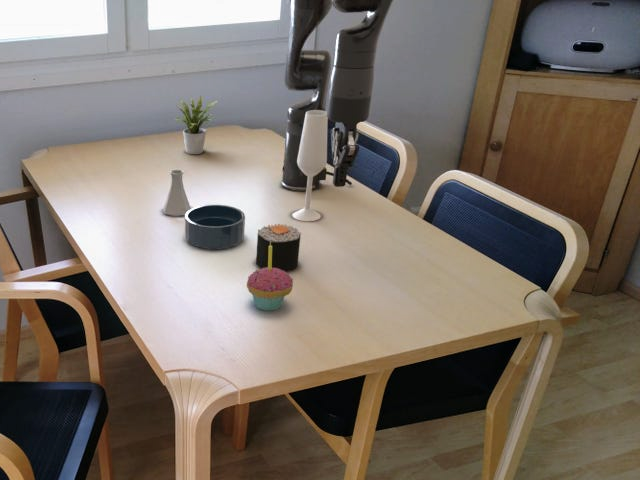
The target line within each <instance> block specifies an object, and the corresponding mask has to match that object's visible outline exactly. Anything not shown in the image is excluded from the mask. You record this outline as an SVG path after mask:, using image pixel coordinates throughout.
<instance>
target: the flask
mask: <svg viewBox="0 0 640 480" xmlns="http://www.w3.org/2000/svg"><path fill="white" fill-rule="evenodd" d="M169 173H170V175H171V179H170V180H171V181H170V186H169V190H168V193H167V197H166V200H165V202H164V205H163V208H162V211H163V214H165V215H168V216H174V217H177V216H185V214H186V213H187V212H188V211H189V210H191V209H192V207H191V204H190V202H189V199H188V196H187V193H186V191H185V186H184V182H183V175H184V170H183V169H171V170H170V171H169Z"/></svg>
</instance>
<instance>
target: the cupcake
mask: <svg viewBox="0 0 640 480" xmlns="http://www.w3.org/2000/svg"><path fill="white" fill-rule="evenodd" d="M293 287H294V278H292V277H291V275H290V274H289V273H288V272H285V271H283V270H280V269H278V268H272V246H271V241H270V246H269V252H268V267H265V268H262V269H261V268H260V267H259V269H256V270H255V271H253V272H252V273H250V275H249V276H248V277H247V282H246V288H247V291H248V292H249V293H250V294H251V295H252V298H253V301H254V306H255V307H256V308H257V309H259V310H263V311H269V312H271V311H276V310H278V309H280V308H281V305H282V303H283V301H284V299H285V297H286V296H288V295H289V294H291V293H292V291H293Z"/></svg>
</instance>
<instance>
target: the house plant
mask: <svg viewBox="0 0 640 480" xmlns="http://www.w3.org/2000/svg"><path fill="white" fill-rule="evenodd" d="M190 100H191V103H190V107H191V111H190V109H189V106H188V105H187V103H186V102H185V101H184V100H183V99H181V98H180V102H181V104H182V106H183V109H182V108H181V107H180V106H179V105H177V104H175V105H176V107H177V108H178V109H179V110H180V111H181V113H182V114H183V115H184V117H182V118H179V117H177V118H175V119H174V121H180V122H182V123H184V124H186V127H187V128H185V129H183V130H182V134H183V135H182V136H183V141H184V142H183V143H184V149H185V152H186V154H188V155H200V154H202V153H203V152H204V148H205V147H204V146H205V142H206V135H207V130H206V129H205V128H203V127H202V125H203V123H204V122H211V123H213V124H215V123H214V120H212V119H211V117H210V116H211V115H212V113H210V114H207V115H206V113H207V112H210V109H214V108H213V106H214V104H216V103H217V102H219V100H215V101H213V102H210V103H209V104H208V105H206V106H205V108H204V109H202V107H203V101H204V98H202V96H201V95H200V96H199V98H198V102H197V104H196V105H195V102H194V99H193V97H192V96H190Z"/></svg>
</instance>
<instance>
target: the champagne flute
mask: <svg viewBox="0 0 640 480" xmlns="http://www.w3.org/2000/svg"><path fill="white" fill-rule="evenodd" d="M328 120H329V119H328V118H327V110H325V111H321V110H311V111H307V112H306V115H305V120H304V126H303V131H302V137H301V142H300V148H299V153H298V159H297V164H298V167H299V168H300V170H301V171H302V172H303V173H304V174H305V175H306V176H308V180H307V190H306V191H305V201H304V207H303V208H302V209H299V210H296V211H295V212H293V213H292V215H291V216H292V218H294V219H295V220H298V221H302V222H313V221H318V220H320V218H321V217H322V215H321V214H320V213H318V212H317V211H315V210H314V209H312V208H311V199H312V191H313V189H312V181H313V176H315V175H317V174H318V173H319V172H320V171H322V170H323V168H324V167H326V166H327V163H328V122H329V121H328Z"/></svg>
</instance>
